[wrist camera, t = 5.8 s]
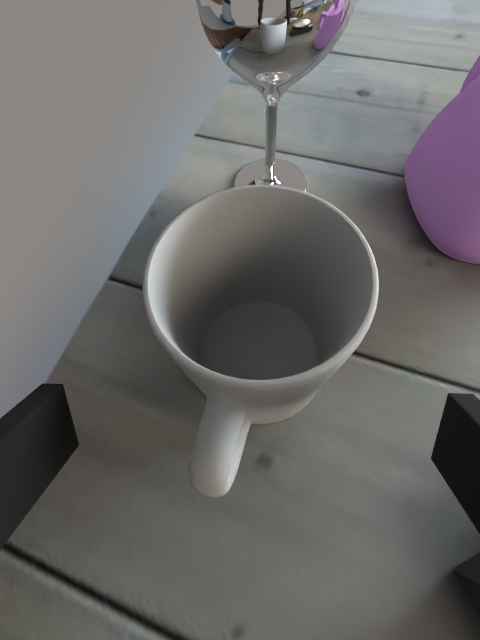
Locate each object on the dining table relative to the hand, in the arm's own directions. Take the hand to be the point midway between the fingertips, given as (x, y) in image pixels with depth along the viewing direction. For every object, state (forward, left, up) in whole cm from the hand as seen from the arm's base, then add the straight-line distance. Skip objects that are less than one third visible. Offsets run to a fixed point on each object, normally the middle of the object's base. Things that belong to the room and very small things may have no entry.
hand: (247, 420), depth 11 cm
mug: (+1, +3, -9) cm, 10 cm away
